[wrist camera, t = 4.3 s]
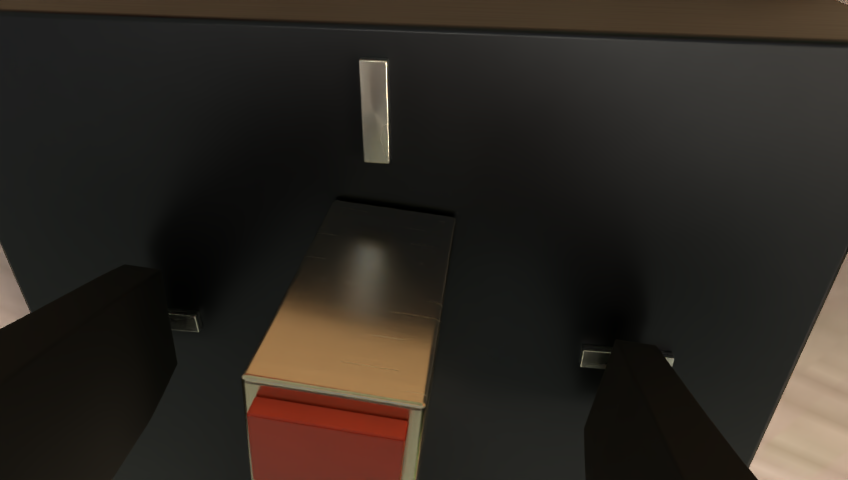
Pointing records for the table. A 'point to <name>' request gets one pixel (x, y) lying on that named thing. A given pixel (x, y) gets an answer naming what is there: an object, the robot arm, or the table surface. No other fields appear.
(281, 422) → the timer knob
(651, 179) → the panel
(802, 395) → the table surface
